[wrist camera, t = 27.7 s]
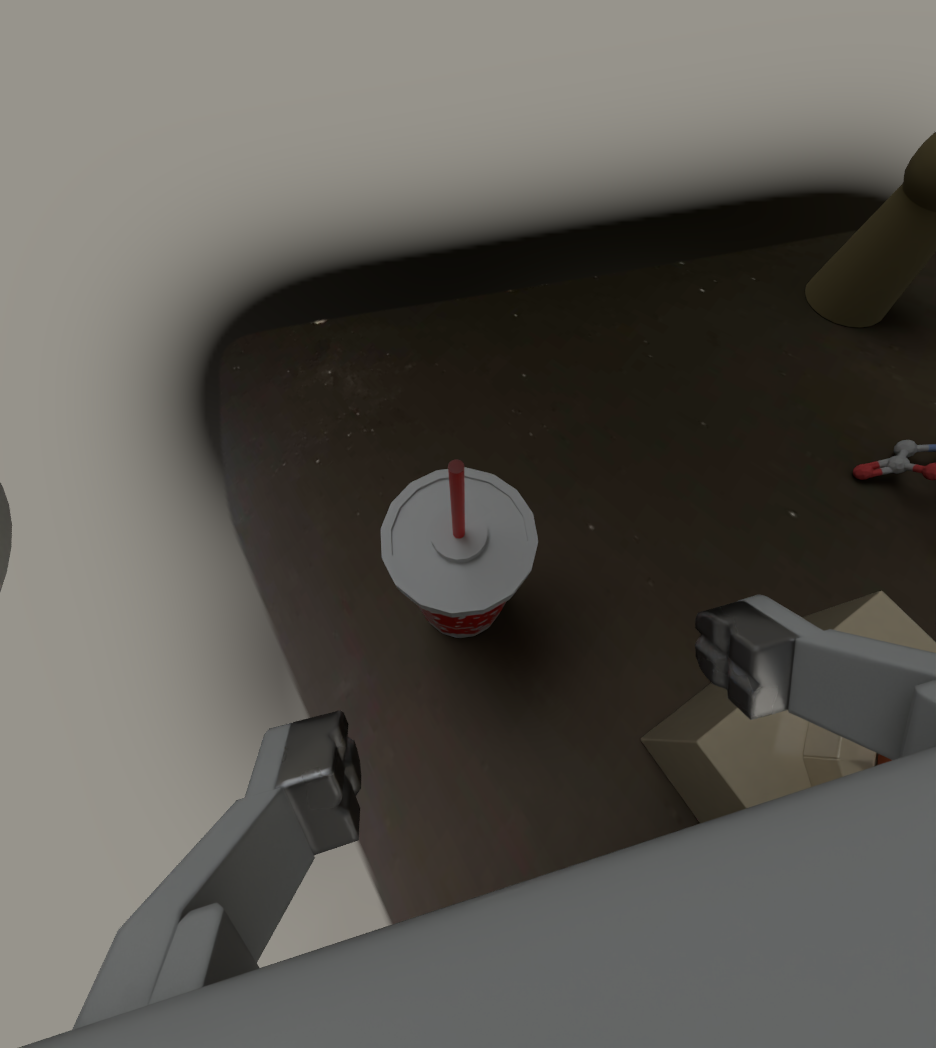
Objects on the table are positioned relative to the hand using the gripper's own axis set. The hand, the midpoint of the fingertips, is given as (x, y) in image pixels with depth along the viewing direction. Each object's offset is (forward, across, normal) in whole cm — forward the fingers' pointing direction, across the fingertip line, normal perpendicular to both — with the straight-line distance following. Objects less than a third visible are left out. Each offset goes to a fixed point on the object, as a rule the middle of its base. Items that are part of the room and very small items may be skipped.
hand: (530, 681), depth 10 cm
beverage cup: (+15, 0, -6) cm, 16 cm away
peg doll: (+26, +35, +5) cm, 44 cm away
